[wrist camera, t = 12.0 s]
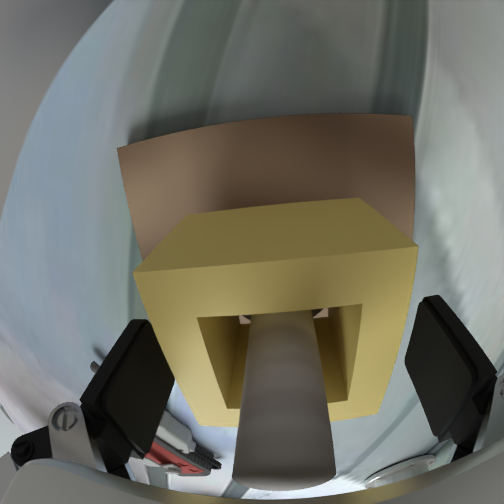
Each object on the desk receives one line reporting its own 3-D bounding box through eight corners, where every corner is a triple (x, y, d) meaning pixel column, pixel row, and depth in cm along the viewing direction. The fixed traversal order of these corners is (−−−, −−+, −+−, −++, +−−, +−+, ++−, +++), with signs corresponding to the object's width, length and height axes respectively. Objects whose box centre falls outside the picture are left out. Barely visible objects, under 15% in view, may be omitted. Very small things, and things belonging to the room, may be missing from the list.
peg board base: (387, 342, 16) (439, 485, 6) (185, 357, 18) (138, 501, 8) (403, 116, 11) (605, 135, 1) (126, 146, 12) (-75, 208, 2)
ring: (353, 334, 13) (377, 413, 8) (218, 345, 14) (199, 425, 9) (359, 197, 10) (418, 246, 6) (186, 215, 11) (132, 272, 6)
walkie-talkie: (238, 456, 25) (105, 349, 19) (234, 487, 21) (81, 387, 15) (183, 460, 28) (63, 367, 21) (177, 487, 24) (44, 396, 17)
